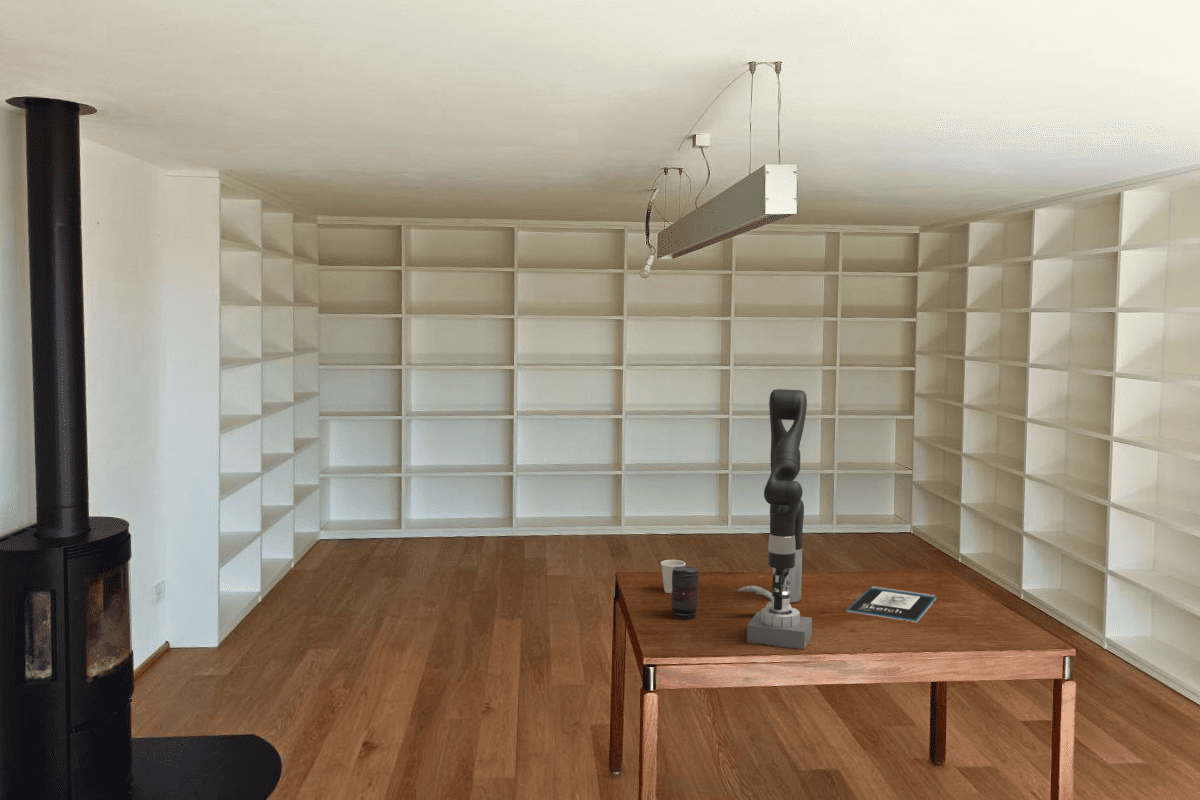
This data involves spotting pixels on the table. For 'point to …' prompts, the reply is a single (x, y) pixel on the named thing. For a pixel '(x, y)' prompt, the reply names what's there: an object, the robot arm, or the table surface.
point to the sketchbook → (892, 604)
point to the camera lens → (684, 592)
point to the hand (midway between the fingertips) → (780, 605)
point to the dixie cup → (669, 572)
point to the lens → (784, 603)
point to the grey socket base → (780, 629)
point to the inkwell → (759, 592)
